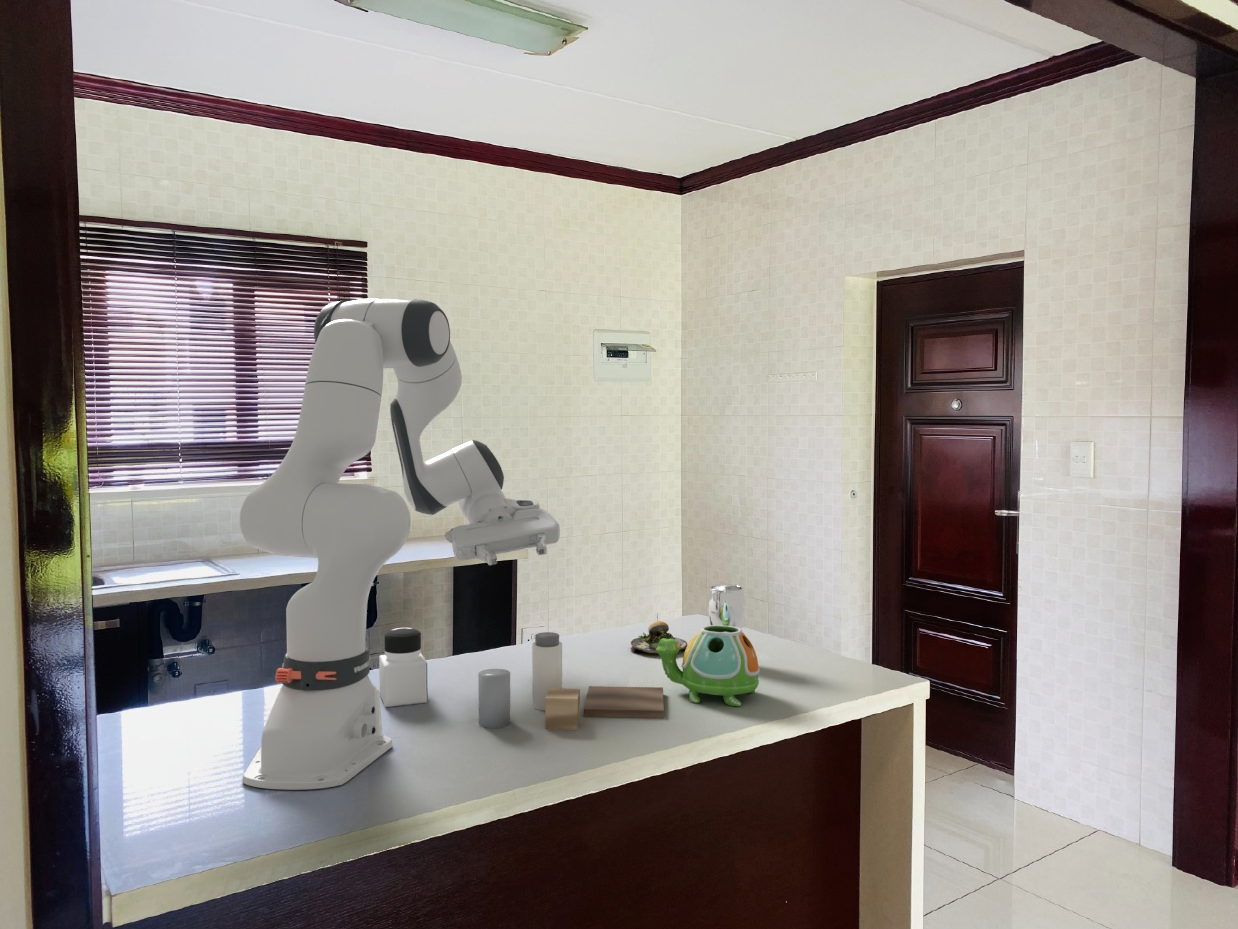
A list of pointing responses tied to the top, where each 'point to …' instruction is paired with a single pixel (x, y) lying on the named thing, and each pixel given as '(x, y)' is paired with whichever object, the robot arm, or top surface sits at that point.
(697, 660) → the turtle holder
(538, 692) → the plastic bottle
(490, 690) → the grey cylinder
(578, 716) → the oak block
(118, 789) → the top surface
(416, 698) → the medicine bottle
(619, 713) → the walnut board
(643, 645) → the burger
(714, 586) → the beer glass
